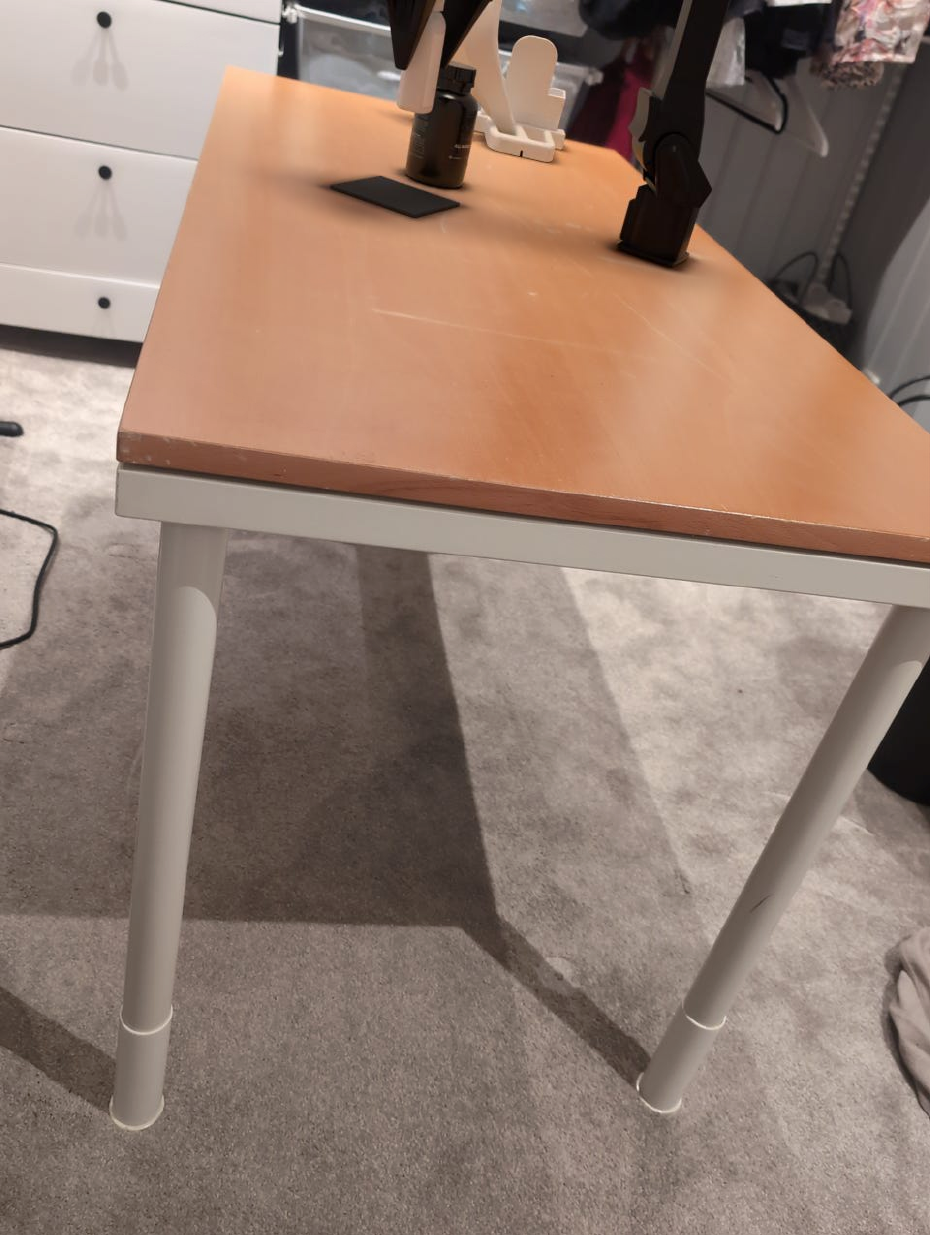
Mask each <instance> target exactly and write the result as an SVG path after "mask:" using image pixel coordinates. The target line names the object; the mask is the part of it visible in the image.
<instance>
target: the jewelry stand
mask: <svg viewBox="0 0 930 1235" xmlns="http://www.w3.org/2000/svg"><path fill="white" fill-rule="evenodd" d="M502 4H503V0H493V1H492V2H489V4H488V5H487V7H486V8H485V9H484V11H483V12H482V14H481V15H480V17H479V18H478V20H477V21H476V22H475V24H474V25H473V27H472V28H471V30H470V31H469V33H468V35H467V36H466V38H465V39H464V41H463V42H462V44H461V45H460V47H459V49H458V50H457V52H456V53H455V55H454V57H453V58H452V60H451V61H454V62H458V63H462V64H465V65H468V66H471V67H473V68H475V69H477V71H476V77H475V81H474V83H475V85H474V88H471V94H472V95H473V97H474V98H475V99H476V101H477V103H478V106H480V110H478V114H477V119H476V124H475V128H474V132H479V133H484V137H485V142H486V146H487V147H488V148H489V149H491V150H492V151H495V152H499V153H503V154H509V155H513V156H517V157H520V156H521V155H522V158H525V159H531V160H536V161H540V162H543V163H550V162H552V161H553V160H554V155H555V151H556V150H563V148H564V143H565V139H566V132H565V130H564V129H562V128H559V125H560V120H561V116H562V113H563V109H564V106H565V103H566V100H567V99H566V92H567V91H566V90H565V89H560V88H557V87H551V85H552V82H553V77H554V74H555V70H556V66H557V63H558V50H557V47H556V45H555V44H554V43H553V42H552V41H551V40H549V39H548V38H544V37H540V36H536V35H526V36H523V37H521V38H519V39H518V40H517V41H516V42H515V43H514V45H513V47H512V51H511V54H510V58H509V63H508V68H507V71H506V76H505V77H504V76H503V71H502V70H503V69H502V65H501V59H500V50H499V40H498V39H499V26H500V18H501V9H502Z"/></svg>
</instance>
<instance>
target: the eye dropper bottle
mask: <svg viewBox="0 0 930 1235" xmlns="http://www.w3.org/2000/svg"><path fill="white" fill-rule="evenodd" d="M444 1H445V0H436V2H435V5H434V7H433V10H432V12H431V14H430V17H429V19H428V22H427V24H426V27H425V29H424V31H423V34H422V36H421V39H420V41H419V44H418V46H417V49H416V51H415V53H414V56H413V58H412V60H411V62H410V64H409V66H408V68H407V70H405V71H403V70H400V79H399V85H398V92H397V99H396V106H397V107H398V109H400V110H402V111H405V112H408V113H409V112H410V113H413V114H414V113H418V114H426V113H429V112H431V111H432V108H433V103H434V97H435V91H436V85H437V79H438V73H439V67H440V61H441V55H442V49H443V42H444V36H445V30H446V24H445V20H444V18H443V16H442V13H440V11H443V7H444Z"/></svg>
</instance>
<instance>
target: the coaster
mask: <svg viewBox="0 0 930 1235" xmlns="http://www.w3.org/2000/svg"><path fill="white" fill-rule="evenodd" d="M329 187H330V188H329V189H331V190H335V191H338V192H340V193H343V194H346V195H349V196H352V197H353V198H357V199H360V200H362V201H365V202H368V203H371V204H374V205H377V206H380V207H383V208H385V209H388V210H391V211H394V212H396V213H399V214H403V215H405V216H408V217H411V218H414V219H415V218H419V217H422V216H427V215H430V214H434V213H438V212H441V211H445V210H449V209H452V208H456V207H459V206H461V203H460V202H458V201H455V200H453V199H449V198H446V197H444V196H441V195H438V194H435V193H432V192H429V191H427V190H424V189H421V188H418V187H415V186H412V185H409V184H405V183H404V182H400V181H397V180H395V179H392V178H389V177H386V176H383V175H377V176H371V177H366V178H361V179H355V180H351V181H344V182H340V183H333V184H330V186H329Z"/></svg>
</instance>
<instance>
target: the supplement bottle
mask: <svg viewBox="0 0 930 1235" xmlns="http://www.w3.org/2000/svg"><path fill="white" fill-rule="evenodd" d="M476 71H477V69H475V68H473V67H471V66H468V65H465V64H462V63H458V62H454V61H450V63H449V65H448V66H447V68H446V69H441V68H439V73H438V79H437V85H436V91H435V97H434V103H433V108H432V111H431V112H429V113H426V114H418V113H413V119H412V125H411V131H410V137H409V143H408V149H407V153H406V154H407V155H406V161H405V167H404V170H405V173H406V175H407V176H408V177H410V178H411V179H413V180H415V181H418V182H420V183H422V184H423V183H424V184H427V185H431V186H435V187H440V188H447V189H455V188H456V189H457V188H460V187H461V186H462V185H463V184H464V181H465V177H466V173H467V172H466V171H467V167H468V163H469V158H470V152H471V148H472V143H473V138H474V133H475V131H474V128H475V124H476V119H477V114H478V111H479V104H478V102H477V101H476V99H475V98H474V97H473V95H472V94H471V88H474V85H475V83H474V81H475V77H476Z"/></svg>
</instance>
